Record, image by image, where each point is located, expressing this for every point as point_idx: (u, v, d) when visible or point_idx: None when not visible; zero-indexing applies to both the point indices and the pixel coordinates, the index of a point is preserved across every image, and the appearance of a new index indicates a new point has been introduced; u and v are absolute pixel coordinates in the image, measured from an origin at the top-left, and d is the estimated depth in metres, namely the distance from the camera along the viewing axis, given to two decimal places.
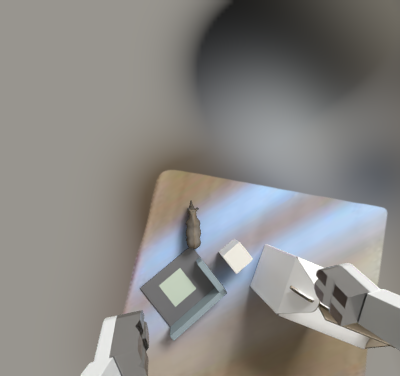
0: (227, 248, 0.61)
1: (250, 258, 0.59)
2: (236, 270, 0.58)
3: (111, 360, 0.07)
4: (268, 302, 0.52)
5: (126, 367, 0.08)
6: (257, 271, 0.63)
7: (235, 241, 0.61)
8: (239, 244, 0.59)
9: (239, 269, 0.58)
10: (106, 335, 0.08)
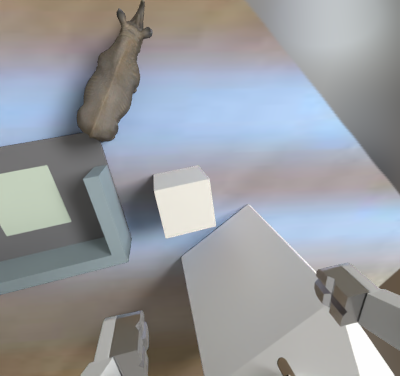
0: (174, 179, 0.25)
1: (211, 222, 0.25)
2: (169, 232, 0.25)
3: (111, 360, 0.07)
4: (200, 331, 0.22)
5: (126, 367, 0.08)
6: (207, 242, 0.32)
7: (199, 173, 0.26)
8: (205, 184, 0.24)
9: (177, 232, 0.25)
10: (106, 335, 0.08)
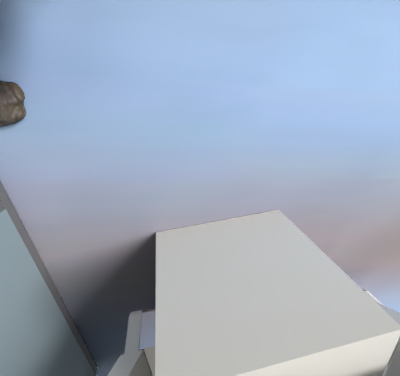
0: (229, 283, 0.07)
1: None
2: None
3: (141, 352, 0.07)
4: None
5: (154, 359, 0.08)
6: None
7: (314, 258, 0.08)
8: (381, 347, 0.05)
9: None
10: (134, 329, 0.08)
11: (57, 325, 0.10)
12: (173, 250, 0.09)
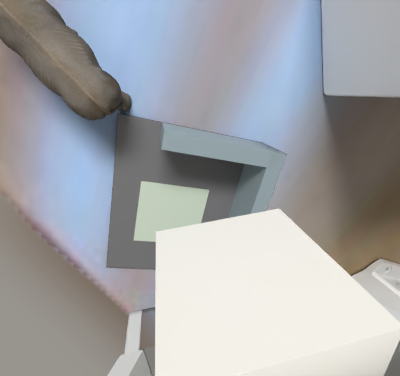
0: (230, 282, 0.07)
1: None
2: None
3: (141, 352, 0.07)
4: None
5: (154, 359, 0.08)
6: (332, 39, 0.20)
7: (315, 257, 0.08)
8: (383, 346, 0.05)
9: None
10: (134, 328, 0.08)
11: (220, 135, 0.22)
12: (173, 249, 0.09)
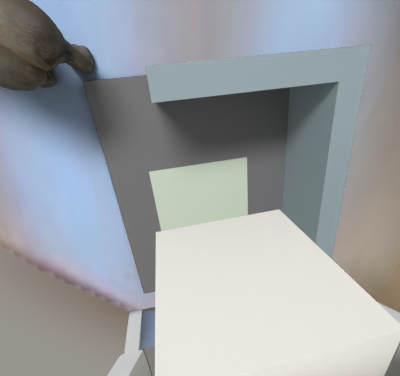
0: (229, 283, 0.07)
1: None
2: None
3: (141, 352, 0.07)
4: None
5: (154, 359, 0.08)
6: None
7: (315, 258, 0.08)
8: (383, 348, 0.05)
9: None
10: (134, 328, 0.08)
11: None
12: (173, 250, 0.09)
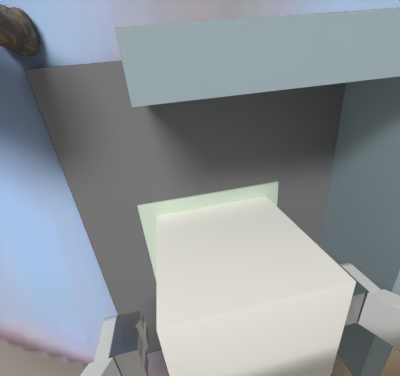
0: (218, 253, 0.08)
1: None
2: None
3: (111, 360, 0.07)
4: None
5: (126, 367, 0.08)
6: None
7: (292, 233, 0.09)
8: (339, 297, 0.07)
9: None
10: (106, 335, 0.08)
11: None
12: (171, 229, 0.10)
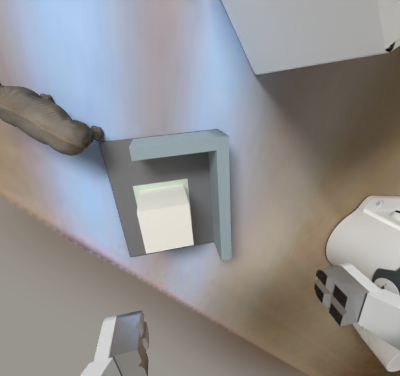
0: (157, 199, 0.27)
1: (189, 241, 0.28)
2: (149, 248, 0.27)
3: (111, 360, 0.07)
4: (322, 55, 0.16)
5: (126, 367, 0.08)
6: (241, 32, 0.24)
7: (182, 194, 0.28)
8: (185, 208, 0.26)
9: (156, 249, 0.27)
10: (106, 335, 0.08)
11: (179, 134, 0.28)
12: (144, 194, 0.29)
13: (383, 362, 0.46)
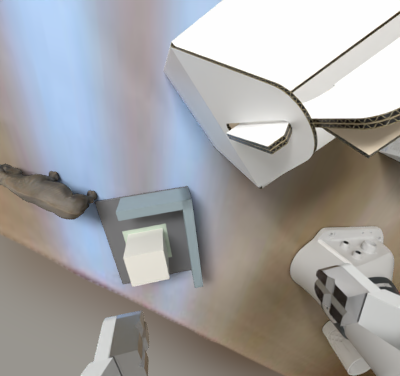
0: (140, 244, 0.35)
1: (166, 276, 0.35)
2: (135, 282, 0.35)
3: (111, 360, 0.07)
4: (238, 167, 0.24)
5: (126, 366, 0.08)
6: (198, 122, 0.32)
7: (159, 240, 0.36)
8: (160, 253, 0.33)
9: (140, 283, 0.35)
10: (106, 335, 0.08)
11: (156, 193, 0.35)
12: (131, 238, 0.37)
13: (345, 367, 0.53)
